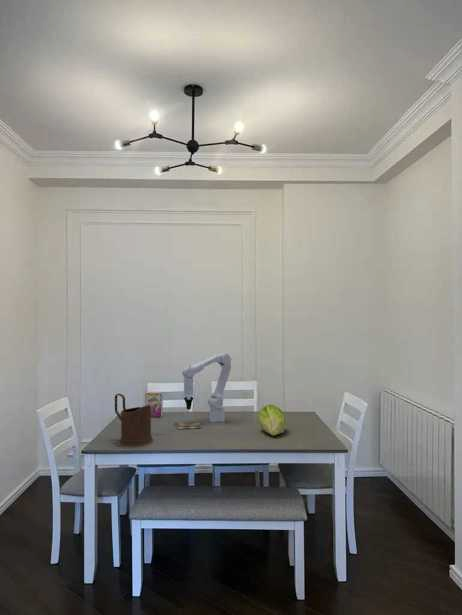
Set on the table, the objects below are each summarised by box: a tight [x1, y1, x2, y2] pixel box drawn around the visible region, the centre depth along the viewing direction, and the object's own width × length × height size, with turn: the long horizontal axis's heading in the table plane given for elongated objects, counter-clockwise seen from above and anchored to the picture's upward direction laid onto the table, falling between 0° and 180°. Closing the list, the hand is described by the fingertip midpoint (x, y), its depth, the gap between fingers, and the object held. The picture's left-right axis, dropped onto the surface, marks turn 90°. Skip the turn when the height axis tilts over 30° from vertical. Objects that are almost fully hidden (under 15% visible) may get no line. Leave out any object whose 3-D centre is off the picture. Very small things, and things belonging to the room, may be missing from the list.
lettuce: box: [257, 404, 287, 436], centre depth 279 cm, size 15×25×16 cm
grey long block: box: [174, 420, 204, 426], centre depth 296 cm, size 17×2×3 cm, turn 96°
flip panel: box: [176, 422, 202, 430], centre depth 291 cm, size 14×1×12 cm
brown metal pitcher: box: [114, 393, 154, 447], centre depth 264 cm, size 18×24×25 cm
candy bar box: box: [144, 391, 164, 418], centre depth 324 cm, size 11×5×16 cm, turn 84°
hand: (188, 409), depth 297 cm, fingers closed
